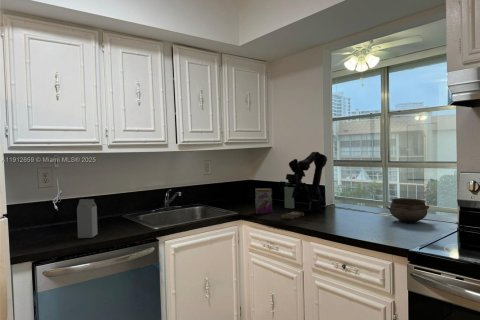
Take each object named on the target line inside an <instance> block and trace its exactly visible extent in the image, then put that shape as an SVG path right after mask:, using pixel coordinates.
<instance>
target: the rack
mask: <svg viewBox="0 0 480 320" xmlns="http://www.w3.org/2000/svg"><path fill="white" fill-rule="evenodd" d="M292 212H293V213H300V216H299V217H301V216H302V217H304V216H305V213H304V212H299V211H292ZM299 217H298V215H294V214H289V213H287V212H286V213H285V214H281V218H282V219H288V220H294V219H298V218H299Z"/></svg>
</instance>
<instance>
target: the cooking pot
mask: <svg viewBox="0 0 480 320" xmlns="http://www.w3.org/2000/svg"><path fill="white" fill-rule="evenodd" d="M390 200H391V203H390V206H388V207H386V209H387V210H389V213H390V214H391V215H392V216H393V217H394V218H395V219H397V220H398V221H400V222H401V223H404V222H405V223H404V224H415V223H417V222H419V221H421V220H423V219H425V218H426V216H427V215H428V210H429V209H430V205H427V204H426V202H427V201H426V200H424V199H421V198H419V199H418V198H412V197H411V198H410V197H407V198H405V197H400V198H399V197H397V198H395V197H394V198H391V199H390Z"/></svg>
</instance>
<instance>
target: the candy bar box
mask: <svg viewBox="0 0 480 320" xmlns="http://www.w3.org/2000/svg"><path fill="white" fill-rule="evenodd" d="M254 202H255V203H254V211H255V212H254V214H255V215H258V214H259V215H265V214H267V213H269V214H270V213H271V214H272V213H273V189H272V188H255V190H254Z"/></svg>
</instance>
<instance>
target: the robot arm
mask: <svg viewBox="0 0 480 320" xmlns="http://www.w3.org/2000/svg"><path fill="white" fill-rule="evenodd" d="M327 162H328V157H327V156H326V155H324V154H323V153H320V152H319V151H312V152H311V153H310V154H309V155H307V156H306V157H305V158H304V159H302V160H299V161H298V159H297V158H294V159H293V160H291V161H290V162H288V166H289V169H290V170H291V172H293V173H286V175H285V180H287V182H288V183H287V182H286V181H281V180H280V181H279V182H278V187H280V189H281V190H283V197H284V198H285V190H284V187H294V192H293V195H292V198H294V199H295V197H297V196H298V195H299V194H301V193H303V192H305V193H307V195H306V196H307V201H308V202H309V210H310V211H311V212H322V209H321V205H322V204H321V203H322V202H323V200H324V198H323V195H322V192H321V189H320V185H321V180H322V174H323V169H324V167H325V166H326V165H327ZM312 163H314V166H315V168H314V173H313V177H312V184H311V186H310V187H308V184H307V183H306V182H303V181H302V180H303V177H306V174H305V173H306V171H308V170H309V169H310V168H311V164H312Z"/></svg>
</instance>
